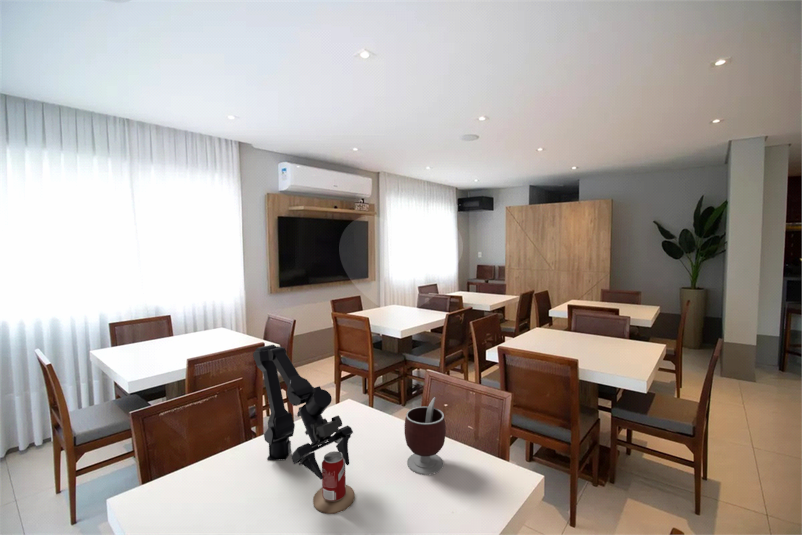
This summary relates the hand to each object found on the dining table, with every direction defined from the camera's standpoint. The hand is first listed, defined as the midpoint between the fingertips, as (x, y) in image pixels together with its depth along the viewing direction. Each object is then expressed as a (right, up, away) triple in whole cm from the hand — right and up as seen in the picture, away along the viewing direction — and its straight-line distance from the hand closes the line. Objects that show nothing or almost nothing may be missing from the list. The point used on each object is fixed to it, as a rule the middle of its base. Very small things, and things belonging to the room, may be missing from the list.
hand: (335, 471), depth 107 cm
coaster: (-1, -9, +1) cm, 9 cm away
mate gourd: (+28, -8, +19) cm, 34 cm away
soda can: (-1, -8, +1) cm, 8 cm away
